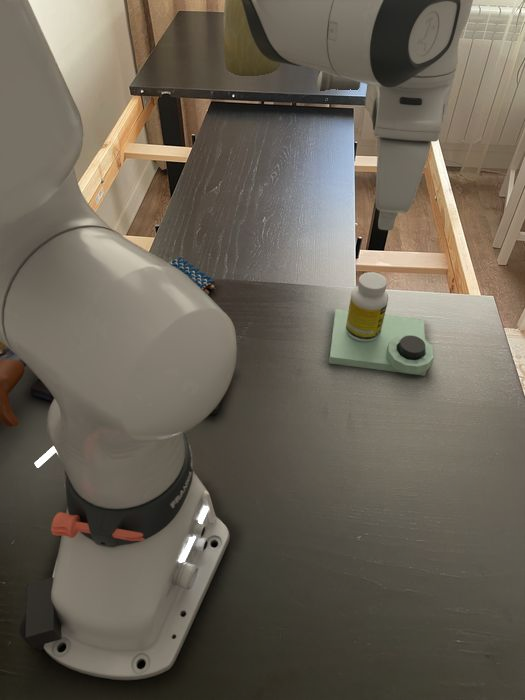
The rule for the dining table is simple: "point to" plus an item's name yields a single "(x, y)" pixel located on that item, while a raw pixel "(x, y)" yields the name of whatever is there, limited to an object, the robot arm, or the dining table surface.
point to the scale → (380, 346)
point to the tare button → (411, 347)
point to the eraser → (41, 390)
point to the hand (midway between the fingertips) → (385, 207)
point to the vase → (242, 44)
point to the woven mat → (194, 274)
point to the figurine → (9, 384)
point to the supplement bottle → (367, 307)
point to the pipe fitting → (335, 82)
